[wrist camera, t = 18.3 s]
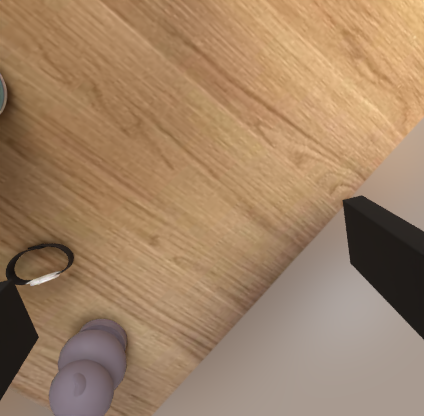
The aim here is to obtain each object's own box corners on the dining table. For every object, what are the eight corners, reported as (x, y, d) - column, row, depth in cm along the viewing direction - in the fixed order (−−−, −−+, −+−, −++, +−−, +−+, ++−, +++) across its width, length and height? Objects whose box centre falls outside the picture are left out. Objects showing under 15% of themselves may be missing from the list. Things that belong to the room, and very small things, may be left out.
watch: (23, 284, 45) (9, 300, 42) (5, 251, 44) (-10, 265, 40) (82, 266, 45) (73, 281, 41) (66, 232, 43) (55, 244, 40)
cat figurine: (64, 315, 47) (23, 387, 35) (125, 306, 47) (104, 375, 35) (79, 369, 49) (46, 453, 38) (137, 361, 49) (122, 441, 38)
